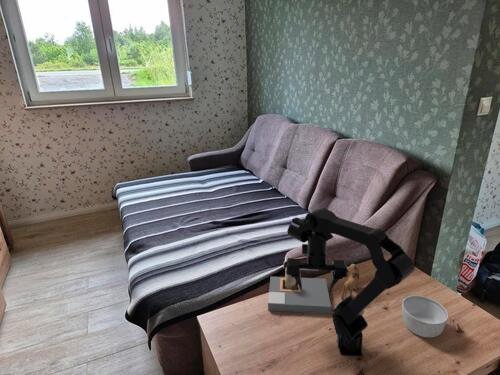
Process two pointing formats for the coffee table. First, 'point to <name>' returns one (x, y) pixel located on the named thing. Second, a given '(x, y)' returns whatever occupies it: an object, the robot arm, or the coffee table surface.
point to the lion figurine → (351, 280)
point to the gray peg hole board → (299, 296)
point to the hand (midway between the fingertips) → (315, 289)
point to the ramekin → (424, 316)
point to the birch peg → (289, 282)
